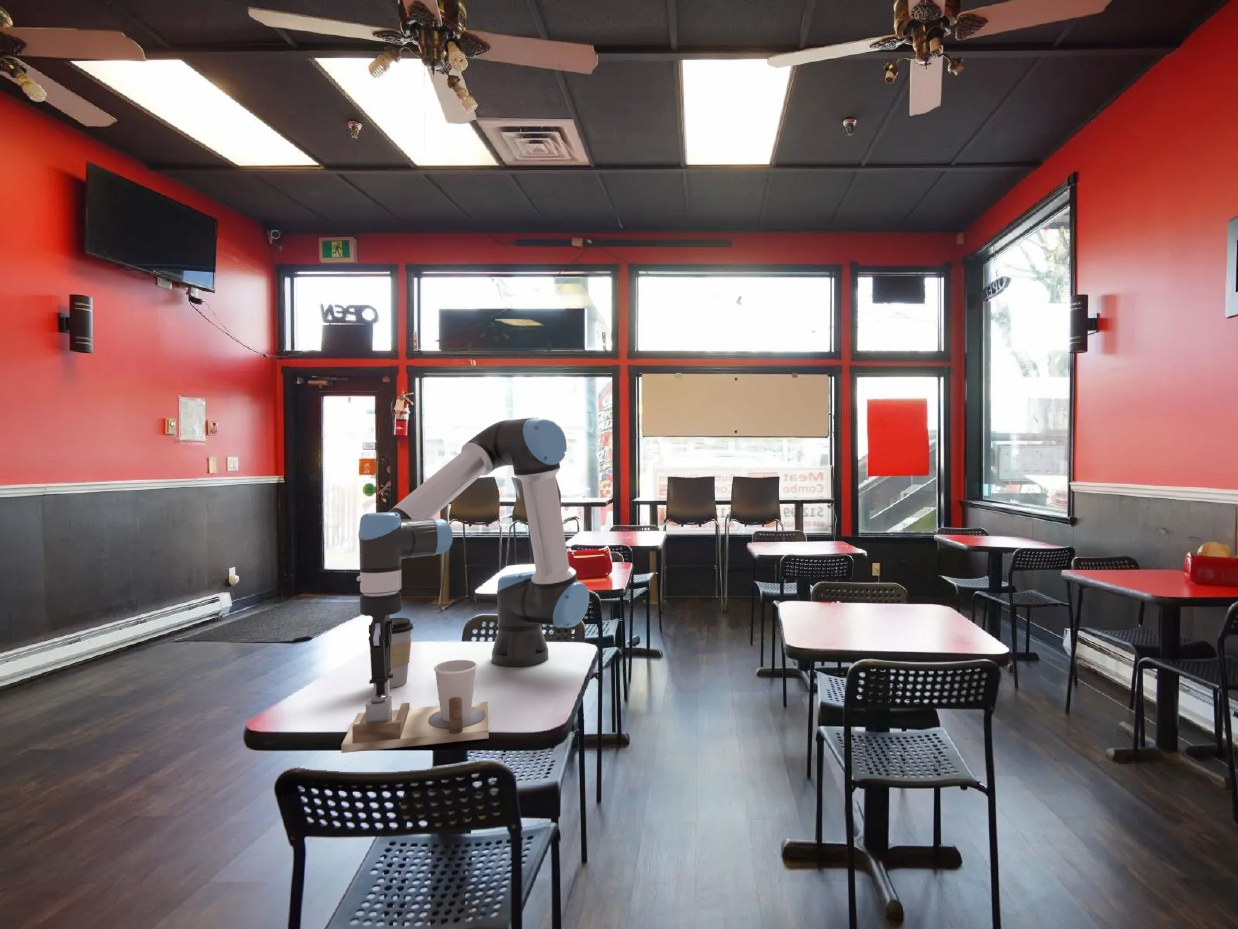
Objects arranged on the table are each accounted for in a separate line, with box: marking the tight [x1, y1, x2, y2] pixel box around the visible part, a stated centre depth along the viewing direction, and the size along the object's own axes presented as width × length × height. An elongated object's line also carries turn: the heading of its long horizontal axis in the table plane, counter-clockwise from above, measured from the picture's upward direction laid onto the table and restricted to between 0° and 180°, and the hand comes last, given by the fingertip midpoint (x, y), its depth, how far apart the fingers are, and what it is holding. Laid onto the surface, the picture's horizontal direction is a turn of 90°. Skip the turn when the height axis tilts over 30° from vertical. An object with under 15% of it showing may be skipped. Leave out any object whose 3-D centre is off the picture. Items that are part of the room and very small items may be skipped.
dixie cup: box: [433, 659, 478, 721], centre depth 128 cm, size 8×8×10 cm
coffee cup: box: [388, 617, 414, 689], centre depth 155 cm, size 9×9×15 cm
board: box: [340, 697, 490, 754], centre depth 126 cm, size 26×16×8 cm, turn 102°
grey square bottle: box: [365, 694, 393, 723], centre depth 120 cm, size 4×4×7 cm
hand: (381, 714), depth 124 cm, fingers closed
